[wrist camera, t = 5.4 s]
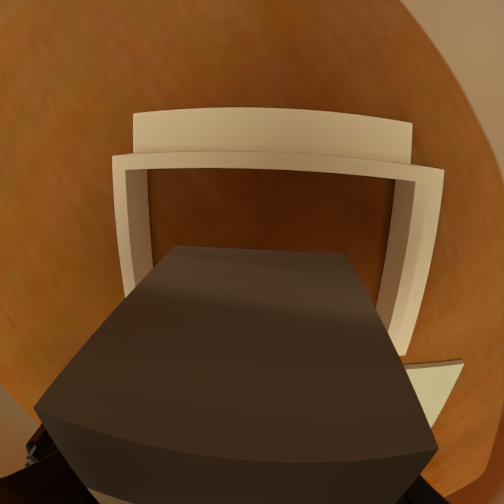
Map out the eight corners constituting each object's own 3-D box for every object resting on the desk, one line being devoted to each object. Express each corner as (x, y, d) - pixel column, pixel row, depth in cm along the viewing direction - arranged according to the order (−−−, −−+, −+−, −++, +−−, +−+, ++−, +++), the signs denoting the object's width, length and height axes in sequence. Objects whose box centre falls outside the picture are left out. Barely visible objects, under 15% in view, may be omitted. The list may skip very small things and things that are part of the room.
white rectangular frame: (404, 352, 21) (416, 377, 18) (152, 341, 22) (138, 365, 20) (444, 130, 16) (469, 130, 13) (135, 113, 17) (112, 110, 14)
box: (305, 456, 11) (305, 582, 5) (198, 448, 11) (167, 568, 6) (345, 253, 8) (438, 448, 2) (174, 245, 8) (33, 407, 3)
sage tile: (410, 454, 26) (411, 458, 25) (323, 463, 26) (324, 467, 26) (461, 359, 21) (464, 363, 20) (354, 366, 22) (356, 371, 21)
